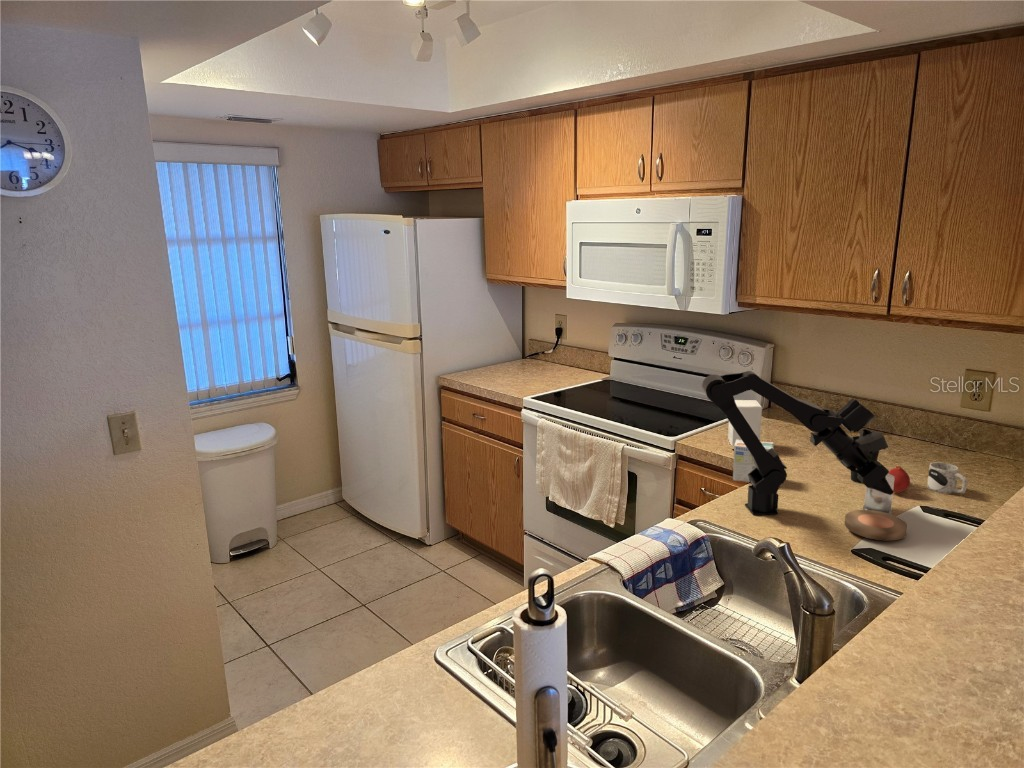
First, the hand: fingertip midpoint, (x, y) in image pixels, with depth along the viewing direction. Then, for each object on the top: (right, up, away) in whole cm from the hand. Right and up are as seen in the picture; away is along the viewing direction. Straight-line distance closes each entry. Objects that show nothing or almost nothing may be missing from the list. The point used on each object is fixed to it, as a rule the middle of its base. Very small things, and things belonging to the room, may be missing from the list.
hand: (883, 486), depth 168 cm
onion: (+11, -4, +14) cm, 18 cm away
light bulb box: (-23, -2, +27) cm, 36 cm away
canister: (-1, -7, +2) cm, 7 cm away
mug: (+25, -4, +14) cm, 29 cm away
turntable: (-7, -9, -9) cm, 15 cm away
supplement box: (-16, +5, +55) cm, 58 cm away
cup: (+7, -2, +23) cm, 24 cm away
